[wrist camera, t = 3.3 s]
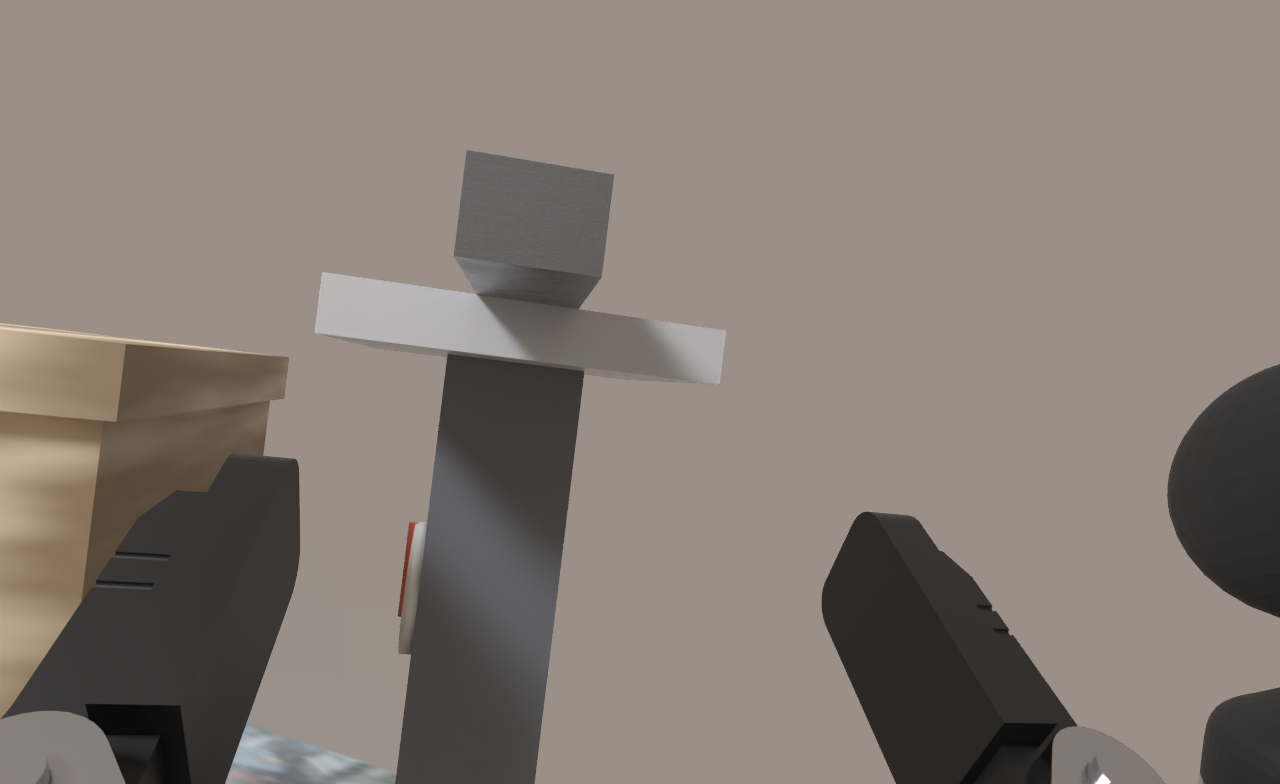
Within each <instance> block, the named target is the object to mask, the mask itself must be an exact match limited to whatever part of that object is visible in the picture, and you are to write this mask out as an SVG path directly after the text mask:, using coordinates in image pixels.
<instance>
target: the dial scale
mask: <svg viewBox="0 0 1280 784" xmlns="http://www.w3.org/2000/svg"><path fill="white" fill-rule="evenodd" d="M315 333H317V334H321V335H325V336H329V337H333V338H337V339H341V340H345V341H349V342H353V343H357V344H361V345H365V346H369V347H373V348H377V349H384V350H392V351H400V352H409V353H416V354H425V355H432V356H441V357H447V365H446V373H445V381H444V389H443V397H442V405H441V414H440V422H439V431H438V438H437V446H436V455H435V463H434V472H433V479H432V487H431V496H430V504H429V512H428V520H427V522H409V529H408V537H407V545H406V554H405V562H404V570H403V578H402V587H401V595H400V603H399V611H398V616H399V617H401V624H400V635H399V654H411V660H410V668H409V677H408V685H407V693H406V701H405V709H404V718H403V727H402V734H401V743H400V751H399V759H398V767H397V775H396V783H395V784H534V782H535V774H536V766H537V757H538V749H539V741H540V731H541V724H542V715H543V708H544V700H545V691H546V683H547V675H548V667H549V658H550V650H551V642H552V633H553V626H554V617H555V609H556V600H557V593H558V584H559V576H560V568H561V559H562V550H563V543H564V535H565V526H566V518H567V510H568V501H569V493H570V485H571V477H572V469H573V460H574V452H575V444H576V436H577V427H578V419H579V411H580V402H581V395H582V387H583V378H584V375H592V376H600V377H609V378H617V379H625V380H639V381H659V382H680V383H681V382H682V383H700V384H720V375H721V368H722V360H723V350H724V343H725V335H726V331H724V330H717V329H710V328H703V327H697V326H690V325H683V324H676V323H669V322H662V321H655V320H648V319H642V318H635V317H627V316H621V315H614V314H607V313H600V312H594V311H586V310H580V309H573V308H566V307H559V306H552V305H545V304H539V303H532V302H525V301H518V300H511V299H504V298H497V297H490V296H484V295H477V294H469V293H463V292H456V291H448V290H442V289H435V288H428V287H422V286H415V285H408V284H401V283H393V282H387V281H380V280H374V279H366V278H360V277H352V276H346V275H339V274H332V273H325V272H322V278H321V286H320V294H319V302H318V310H317V320H316V327H315Z"/></svg>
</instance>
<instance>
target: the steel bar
mask: <svg viewBox="0 0 1280 784" xmlns="http://www.w3.org/2000/svg"><path fill="white" fill-rule="evenodd" d="M613 177H614V175H612V174H606V173H600V172H594V171H588V170H582V169H576V168H570V167H565V166H558V165H553V164H546V163H541V162H534V161H529V160H523V159H516V158H511V157H505V156H499V155H493V154H487V153H481V152H475V151H469V150H467V152H466V160H465V169H464V177H463V186H462V193H461V201H460V210H459V218H458V226H457V234H456V243H455V251H454V257H455V259H456V260H457V262H458V264H459V265H460V267H461V269H462V270H463V272H464V274H465V275H466V277H467V279H468V280H469V282H470V284H471V285H472V287H473V289H474V291H475V292H476V294H477V295H484V296H490V297H497V298H504V299H511V300H518V301H525V302H532V303H539V304H545V305H552V306H559V307H566V308H573V309H579V308H580V306H581V305H582V303H583V302H584V301H585V299H586V298H587V297H588V295H589V294H590V292H591V291H592V290H593V288H594V287H595V286H596V284H597V283H598V281H599V280H600V279H601V277H602V270H603V269H602V268H603V261H604V253H605V245H606V237H607V228H608V220H609V212H610V204H611V195H612V187H613Z"/></svg>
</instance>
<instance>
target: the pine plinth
mask: <svg viewBox="0 0 1280 784" xmlns="http://www.w3.org/2000/svg"><path fill="white" fill-rule="evenodd" d="M288 362H289V357H282V356H274V355H265V354H257V353H248V352H240V351H231V350H223V349H215V348H206V347H198V346H189V345H181V344H173V343H165V342H156V341H148V340H138V339H131V338H123V337H114V336H105V335H97V334H88V333H81V332H72V331H64V330H55V329H47V328H38V327H30V326H22V325H14V324H4V323H0V719H1V718H2V717H3V716H4V715H5V713H6V712H7V711H8V709H9V708H10V707H11V706H12V704H13V703H14V701H15V700H16V698H17V697H18V696H19V694H20V693H21V691H22V690H23V688H24V687H25V685H26V684H27V682H28V681H29V679H30V678H31V676H32V675H33V673H34V672H35V670H36V669H37V667H38V666H39V664H40V663H41V661H42V660H43V658H44V657H45V655H46V654H47V652H48V651H49V649H50V648H51V646H52V645H53V643H54V642H55V640H56V639H57V637H58V636H59V635H60V633H61V632H62V630H63V629H64V627H65V626H66V624H67V623H68V621H69V620H70V618H71V617H72V615H73V614H74V612H75V611H76V609H77V608H78V606H79V605H80V603H81V602H82V600H83V599H84V597H85V596H86V594H87V593H88V591H89V590H90V588H94V587H95V585H96V579H97V578H98V577H99V575H100V574H101V572H102V571H103V569H104V568H105V566H106V565H107V563H108V562H109V560H110V559H111V558H114V557H115V551H116V550H117V548H118V547H119V545H120V544H121V542H122V541H123V539H124V538H125V536H126V535H127V533H128V532H129V530H130V529H131V527H132V526H133V524H134V523H135V521H136V520H137V518H138V517H139V516H141V515H142V514H144V513H145V512H147V511H148V510H149V509H151V508H152V507H154V506H155V505H156V504H158V503H159V502H161V501H162V500H164V499H165V498H166V497H168V496H169V495H171V494H172V493H173V492H175V491H176V490H181V491H194V492H208V490H209V488H210V486H211V485H212V483H213V481H214V479H215V478H216V476H217V474H218V473H219V471H220V469H221V467H222V466H223V464H224V462H225V461H226V459H227V458H228V457H229V455H231V454H233V453H235V454H247V455H258V456H263V452H264V444H265V436H266V428H267V427H266V426H267V419H268V410H269V403H270V400H277V399H284V396H285V387H286V379H287V371H288Z"/></svg>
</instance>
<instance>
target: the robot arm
mask: <svg viewBox="0 0 1280 784" xmlns="http://www.w3.org/2000/svg"><path fill="white" fill-rule="evenodd" d="M1167 497H1168V507H1169V513H1170V517H1171V520H1172V523H1173V525H1174V528H1175V531H1176V534H1177V537H1178V539H1179V540H1180V542H1181V544H1182V546H1183V547H1184V549H1185V551H1186V552H1187V554H1188V555H1189V557H1190V558H1191V559H1192V560H1193V562H1194V563H1195V564H1196V565H1197V566H1198V568H1199V569H1200V570H1201V571H1202V572H1203V573H1204V575H1206V576H1207V577H1208V578H1209V579H1210V580H1212V581H1213V582H1214V583H1215V584H1216V585H1218V586H1219V587H1220V588H1221V589H1222V590H1223V591H1225V592H1227V593H1228V594H1230V595H1232V596H1234V597H1235V598H1237V599H1239V600H1240V601H1242V602H1243V603H1245V604H1247V605H1249V606H1251V607H1253V608H1256V609H1258V610H1261V611H1264V612H1267V613H1269V614H1272V615H1274V616H1277V617H1279V618H1280V364H1279V365H1276V366H1273V367H1270V368H1268V369H1265V370H1263V371H1261V372H1258V373H1256V374H1254V375H1252V376H1250V377H1248V378H1246V379H1244V380H1243V381H1241V382H1239V383H1237V384H1236V385H1234V386H1233V387H1231V388H1230V389H1228V390H1227V391H1226V392H1224V393H1223V394H1222V395H1221V396H1219V397H1218V398H1217V399H1216V400H1214V401H1213V402H1212V403H1211V404H1210V405H1209V406H1208V407H1207V408H1206V409H1205V410H1204V411H1203V413H1202V414H1201V415H1200V416H1199V417H1198V418H1197V419H1196V421H1195V422H1194V423H1193V425H1192V426H1191V428H1190V429H1189V430H1188V432H1187V433H1186V435H1185V436H1184V438H1183V440H1182V442H1181V443H1180V445H1179V447H1178V449H1177V452H1176V454H1175V457H1174V459H1173V462H1172V466H1171V470H1170V474H1169V480H1168V494H1167ZM299 514H300V507H299V467H298V462H297V460H296V459H291V458H280V457H269V456H258V455H247V454H235V453H233V454H231V455H229V457H228V458H227V459H226V461H225V462H224V464H223V466H222V467H221V469H220V471H219V473H218V474H217V476H216V478H215V479H214V481H213V483H212V485H211V486H210V488H209V490H208V492H194V491H181V490H176V491H175V492H173V493H172V494H171V495H169V496H168V497H166V498H165V499H164V500H162V501H161V502H159V503H158V504H156V505H155V506H154V507H152V508H151V509H149V510H148V511H147V512H145V513H144V514H142V515H141V516H139V517H138V518H137V520H136V521H135V523H134V524H133V526H132V527H131V529H130V530H129V532H128V533H127V535H126V536H125V538H124V539H123V541H122V542H121V544H120V545H119V547H118V548H117V550H116V551H115V557H114V558H111V559H110V560H109V562H108V563H107V565H106V566H105V568H104V569H103V571H102V572H101V574H100V575H99V577H98V578H97V579H96V585H95V587H94V588H90V590H89V591H88V593H87V594H86V596H85V597H84V599H83V600H82V602H81V603H80V605H79V606H78V608H77V609H76V611H75V612H74V614H73V615H72V617H71V618H70V620H69V621H68V623H67V624H66V626H65V627H64V629H63V630H62V632H61V633H60V635H59V636H58V637H57V639H56V640H55V642H54V643H53V645H52V646H51V648H50V649H49V651H48V652H47V654H46V655H45V657H44V658H43V660H42V661H41V663H40V664H39V666H38V667H37V669H36V670H35V672H34V673H33V675H32V676H31V678H30V679H29V681H28V682H27V684H26V685H25V687H24V688H23V690H22V691H21V693H20V694H19V696H18V697H17V698H16V700H15V701H14V703H13V704H12V706H11V707H10V708H9V709H8V711H7V712H6V713H5V715H4V716H3V717H2V718H1V719H0V784H225V782H226V779H227V776H228V773H229V770H230V768H231V765H232V762H233V759H234V756H235V754H236V751H237V748H238V745H239V742H240V740H241V737H242V734H243V731H244V728H245V725H246V723H247V720H248V717H249V714H250V711H251V709H252V706H253V703H254V700H255V697H256V694H257V692H258V689H259V686H260V683H261V680H262V678H263V675H264V672H265V669H266V666H267V664H268V661H269V658H270V655H271V652H272V650H273V646H274V644H275V641H276V638H277V635H278V633H279V630H280V627H281V624H282V621H283V619H284V616H285V613H286V610H287V607H288V604H289V602H290V599H291V596H292V593H293V589H294V585H295V581H296V576H297V571H298V564H299V555H300V515H299ZM822 613H823V618H824V622H825V624H826V627H827V629H828V632H829V634H830V636H831V638H832V641H833V643H834V645H835V647H836V650H837V652H838V654H839V656H840V659H841V661H842V663H843V665H844V667H845V669H846V672H847V674H848V677H849V679H850V681H851V683H852V685H853V688H854V690H855V692H856V694H857V697H858V699H859V701H860V703H861V706H862V708H863V710H864V712H865V714H866V717H867V719H868V721H869V724H870V726H871V728H872V730H873V733H874V735H875V737H876V739H877V742H878V744H879V746H880V748H881V751H882V753H883V755H884V757H885V760H886V762H887V764H888V766H889V769H890V771H891V773H892V775H893V777H894V780H895V782H896V784H1165V782H1164V781H1163V780H1162V778H1161V777H1160V776H1159V775H1158V774H1157V772H1156V771H1155V770H1154V769H1153V768H1152V767H1151V766H1150V765H1149V764H1148V763H1147V762H1146V761H1145V760H1144V759H1142V758H1141V757H1140V756H1139V755H1138V754H1136V753H1135V752H1134V751H1133V750H1131V749H1130V748H1128V747H1127V746H1125V745H1124V744H1123V743H1121V742H1119V741H1118V740H1116V739H1114V738H1113V737H1111V736H1108V735H1106V734H1104V733H1102V732H1099V731H1097V730H1094V729H1090V728H1086V727H1078V726H1077V725H1076V723H1075V722H1074V720H1073V719H1072V718H1071V716H1070V715H1069V713H1068V712H1067V710H1066V709H1065V708H1064V706H1063V705H1062V704H1061V702H1060V701H1059V699H1058V698H1057V696H1056V695H1055V693H1054V692H1053V691H1052V689H1051V688H1050V686H1049V685H1048V684H1047V682H1046V681H1045V680H1044V678H1043V677H1042V676H1041V674H1040V673H1039V671H1038V670H1037V668H1036V667H1035V666H1034V664H1033V663H1032V661H1031V660H1030V658H1029V657H1028V655H1027V654H1026V653H1025V651H1024V650H1023V648H1022V647H1021V646H1020V644H1019V643H1018V641H1017V640H1016V639H1015V637H1014V636H1013V635H1009V633H1008V630H1009V629H1008V627H1007V626H1006V624H1005V623H1004V622H1003V620H1002V619H1001V617H1000V616H999V615H998V613H997V612H996V611H992V605H991V604H990V602H989V601H988V599H987V598H986V596H985V595H984V594H983V592H982V591H981V589H980V588H979V586H978V585H977V584H976V582H975V581H974V579H973V578H972V577H971V576H970V575H969V574H968V573H966V572H965V571H964V570H963V569H962V568H961V567H960V566H959V565H957V564H956V563H955V562H954V561H953V560H952V559H951V558H949V557H948V556H947V555H946V554H945V553H944V552H942V551H939V550H938V548H937V547H936V546H935V544H934V543H933V541H932V540H931V538H930V537H929V535H928V534H927V532H926V531H925V529H924V528H923V526H922V525H921V524H920V522H919V521H918V520H917V519H915V518H914V517H912V516H908V515H897V514H886V513H874V512H863V513H861V514H860V515H858V516H857V518H856V519H855V521H854V523H853V524H852V526H851V528H850V531H849V533H848V535H847V537H846V539H845V541H844V543H843V545H842V547H841V550H840V552H839V554H838V556H837V558H836V560H835V562H834V565H833V566H832V569H831V571H830V573H829V575H828V577H827V579H826V581H825V584H824V588H823V593H822ZM1198 784H1280V688H1276V689H1271V690H1266V691H1261V692H1257V693H1251V694H1246V695H1241V696H1237V697H1234V698H1231V699H1229V700H1227V701H1225V702H1223V703H1221V704H1220V705H1218V706H1217V707H1216V708H1215V710H1214V711H1213V712H1212V713H1211V715H1210V717H1209V719H1208V722H1207V725H1206V730H1205V735H1204V742H1203V750H1202V759H1201V768H1200V775H1199V782H1198Z"/></svg>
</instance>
